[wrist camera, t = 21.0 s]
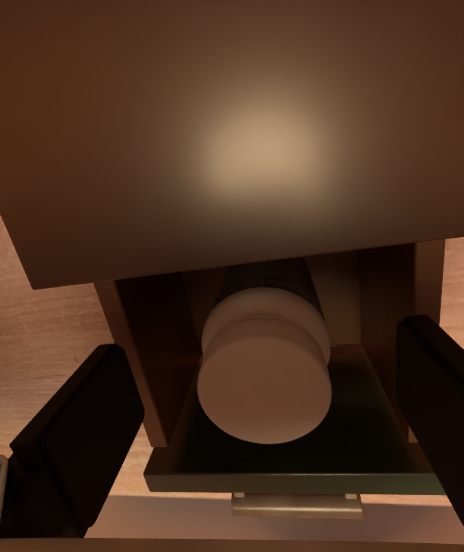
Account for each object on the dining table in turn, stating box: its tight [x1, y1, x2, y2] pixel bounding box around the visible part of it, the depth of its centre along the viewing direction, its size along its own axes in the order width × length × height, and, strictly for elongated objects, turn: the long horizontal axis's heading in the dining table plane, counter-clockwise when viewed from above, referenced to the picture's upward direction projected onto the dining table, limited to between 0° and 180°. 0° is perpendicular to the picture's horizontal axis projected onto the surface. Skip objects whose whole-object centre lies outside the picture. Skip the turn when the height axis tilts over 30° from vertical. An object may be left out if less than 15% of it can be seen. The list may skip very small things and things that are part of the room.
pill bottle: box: [197, 257, 332, 444], centre depth 13 cm, size 5×5×8 cm
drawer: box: [94, 239, 446, 519], centre depth 15 cm, size 19×12×8 cm, turn 10°
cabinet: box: [0, 0, 464, 290], centre depth 10 cm, size 15×14×10 cm
